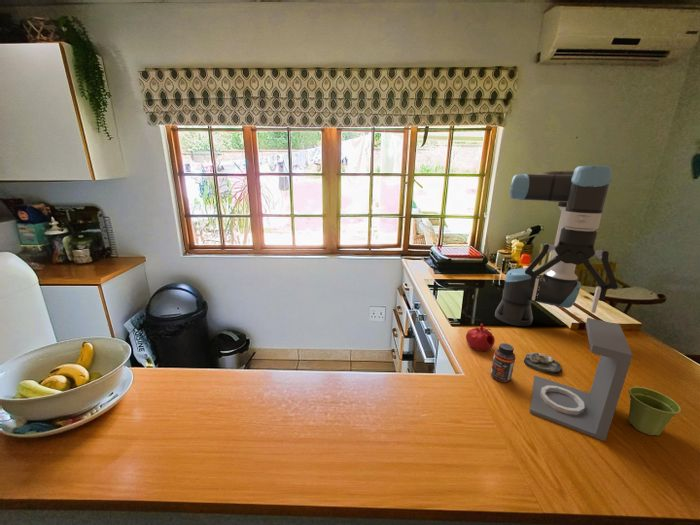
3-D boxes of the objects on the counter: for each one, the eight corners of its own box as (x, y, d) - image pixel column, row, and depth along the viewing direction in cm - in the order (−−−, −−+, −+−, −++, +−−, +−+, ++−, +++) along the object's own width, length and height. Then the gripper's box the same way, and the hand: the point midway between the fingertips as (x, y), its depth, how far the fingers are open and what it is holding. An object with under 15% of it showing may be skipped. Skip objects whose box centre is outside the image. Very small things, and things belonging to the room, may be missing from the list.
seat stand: (534, 378, 96) (549, 309, 89) (597, 398, 87) (619, 324, 81) (529, 412, 81) (547, 333, 75) (605, 441, 73) (632, 355, 66)
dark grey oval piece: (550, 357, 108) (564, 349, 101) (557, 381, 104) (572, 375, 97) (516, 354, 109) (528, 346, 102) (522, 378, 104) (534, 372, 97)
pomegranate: (464, 350, 111) (467, 328, 108) (465, 337, 120) (468, 316, 117) (493, 356, 107) (497, 333, 105) (492, 342, 116) (495, 321, 113)
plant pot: (621, 407, 84) (630, 381, 82) (669, 427, 78) (680, 399, 75) (618, 425, 78) (627, 398, 75) (669, 449, 71) (681, 419, 69)
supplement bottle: (487, 377, 96) (492, 346, 93) (493, 369, 100) (499, 339, 97) (507, 386, 92) (514, 353, 89) (513, 377, 96) (519, 346, 93)
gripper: (522, 225, 81) (509, 298, 87) (648, 236, 67) (623, 322, 73) (525, 222, 87) (513, 290, 93) (641, 232, 73) (618, 311, 79)
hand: (561, 304), depth 83 cm, fingers open, 13 cm apart
